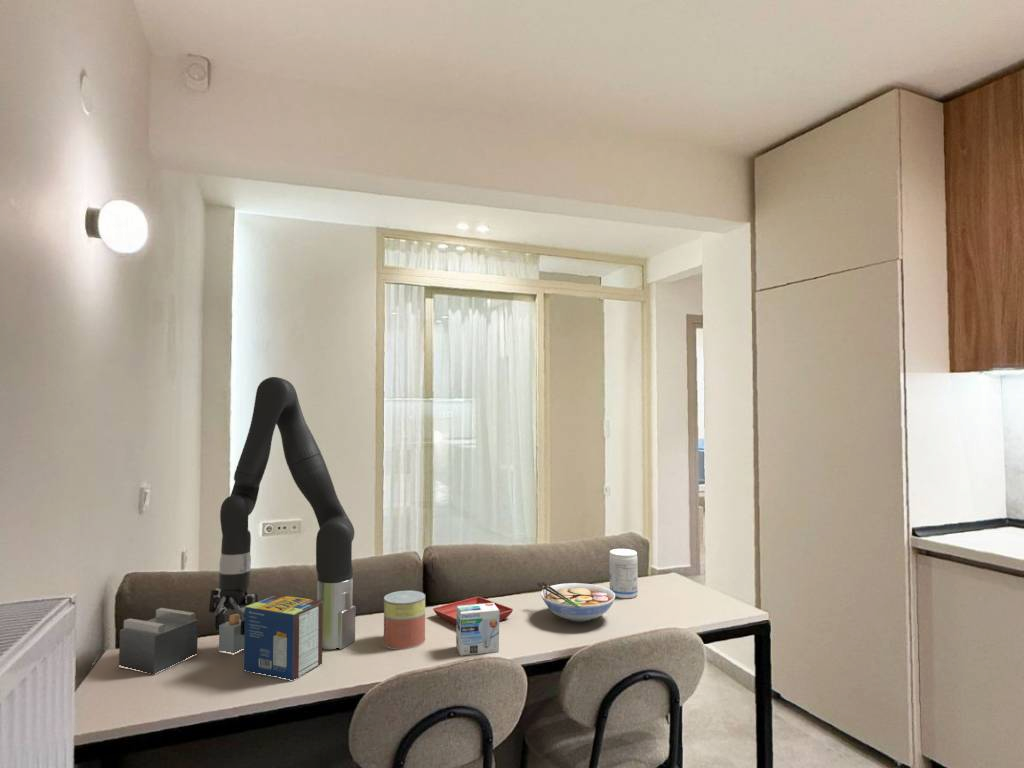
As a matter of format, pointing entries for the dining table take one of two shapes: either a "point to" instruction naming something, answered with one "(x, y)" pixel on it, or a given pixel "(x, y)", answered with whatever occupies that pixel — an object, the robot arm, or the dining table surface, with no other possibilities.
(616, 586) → the supplement tub
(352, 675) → the dining table surface
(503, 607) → the plant saucer
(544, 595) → the ramen bowl
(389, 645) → the canned food
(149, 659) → the grey ridged block
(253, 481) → the robot arm
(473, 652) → the light bulb box
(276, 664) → the protein box
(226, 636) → the block
